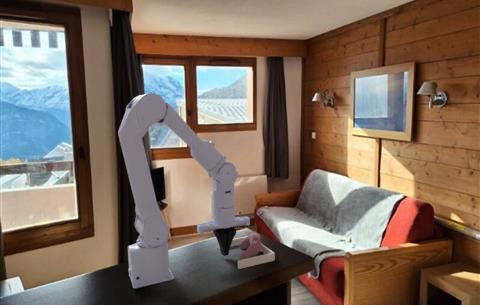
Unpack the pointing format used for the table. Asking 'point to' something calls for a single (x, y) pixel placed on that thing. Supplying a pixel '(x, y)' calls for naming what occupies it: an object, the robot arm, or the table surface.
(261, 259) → the dock
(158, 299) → the table surface
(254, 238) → the video game controller
